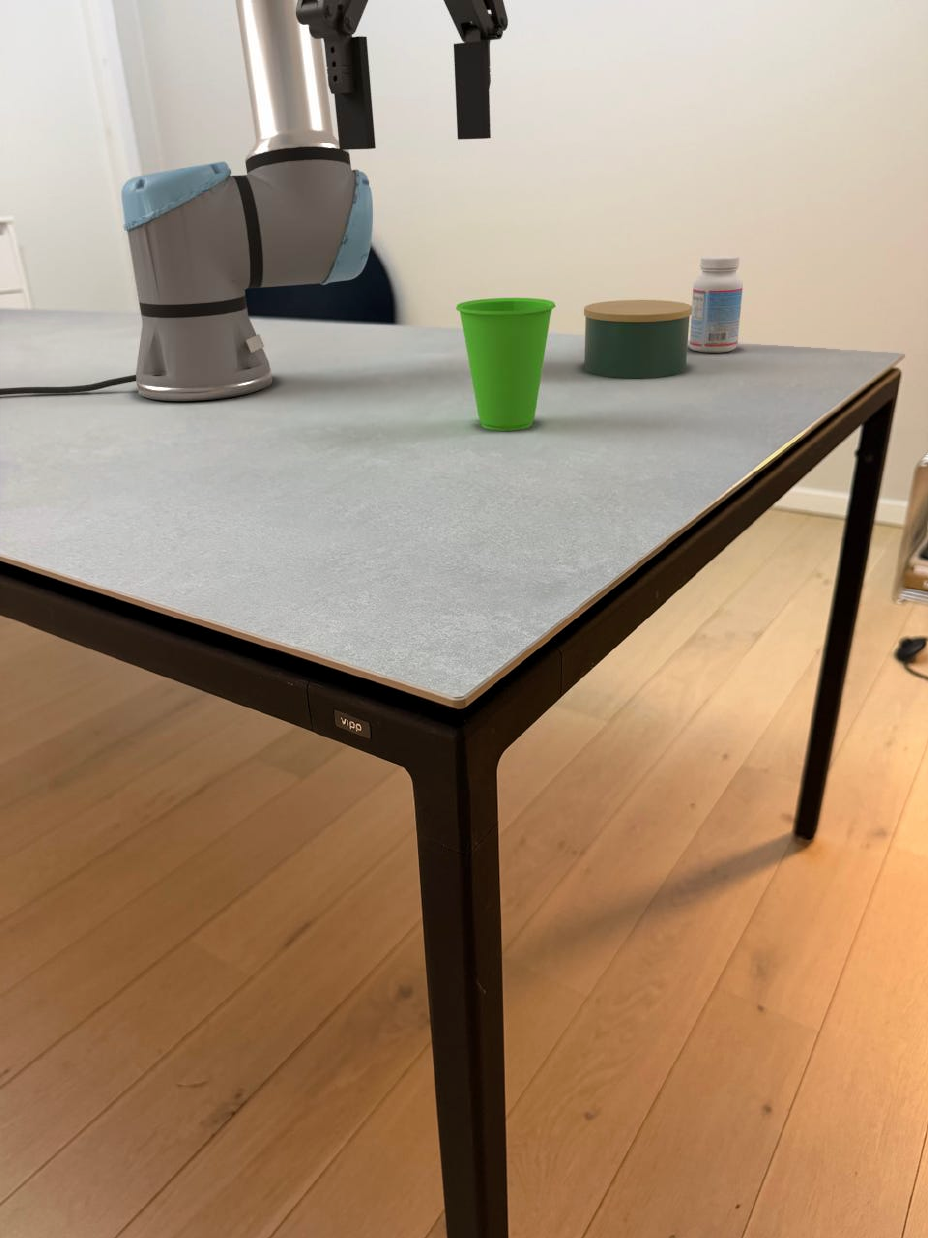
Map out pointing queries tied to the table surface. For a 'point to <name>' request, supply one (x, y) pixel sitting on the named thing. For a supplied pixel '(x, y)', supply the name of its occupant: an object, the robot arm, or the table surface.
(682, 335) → the tin
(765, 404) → the table surface
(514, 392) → the cup
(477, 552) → the table surface
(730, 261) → the pill bottle
